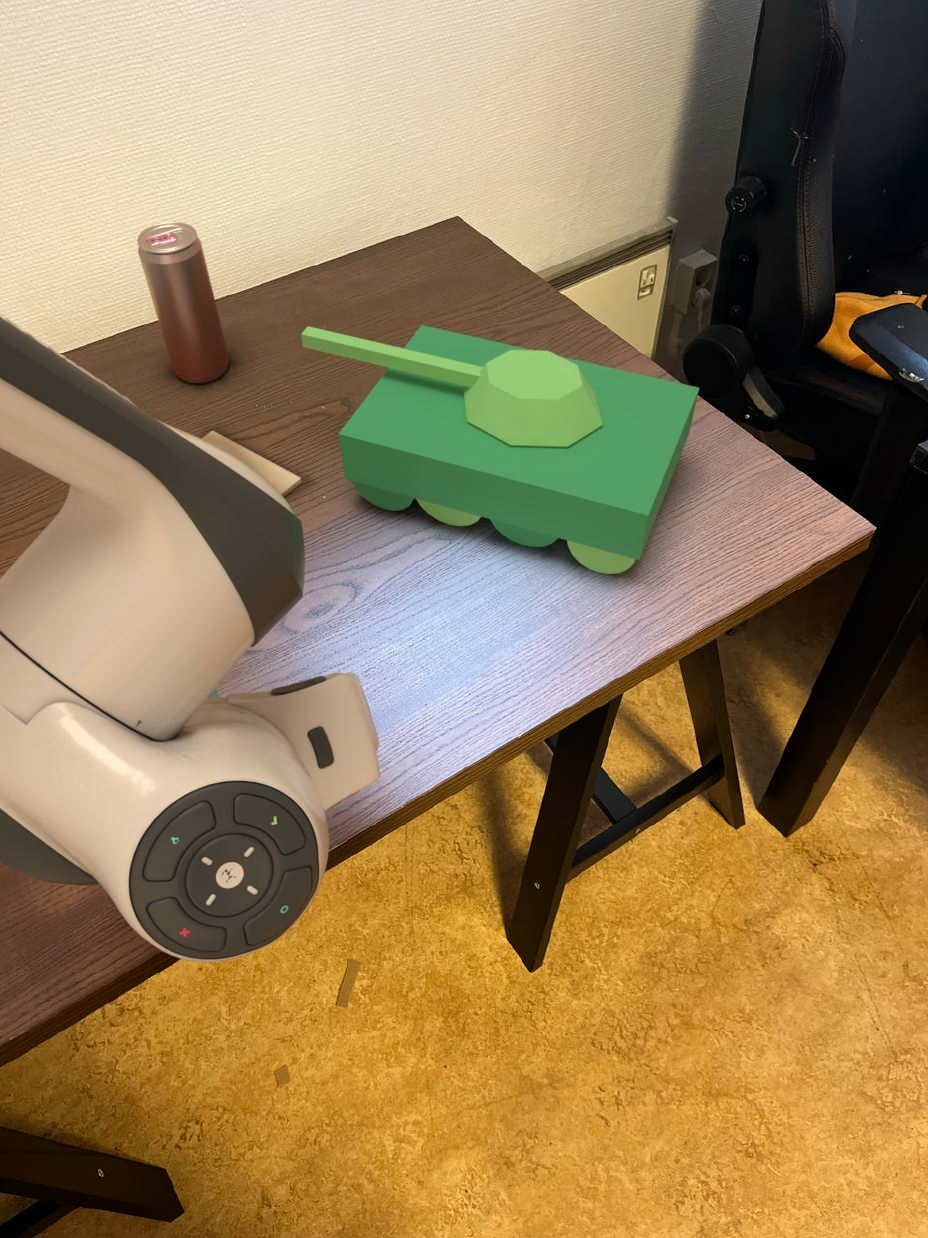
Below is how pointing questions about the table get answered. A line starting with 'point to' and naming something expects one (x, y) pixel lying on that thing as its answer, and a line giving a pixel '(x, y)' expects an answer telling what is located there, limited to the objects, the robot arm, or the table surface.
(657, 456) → the toy tank
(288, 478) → the board
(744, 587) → the table surface
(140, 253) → the beverage can
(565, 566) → the table surface
